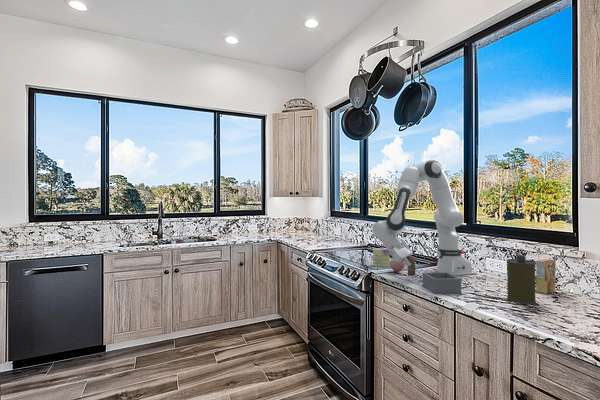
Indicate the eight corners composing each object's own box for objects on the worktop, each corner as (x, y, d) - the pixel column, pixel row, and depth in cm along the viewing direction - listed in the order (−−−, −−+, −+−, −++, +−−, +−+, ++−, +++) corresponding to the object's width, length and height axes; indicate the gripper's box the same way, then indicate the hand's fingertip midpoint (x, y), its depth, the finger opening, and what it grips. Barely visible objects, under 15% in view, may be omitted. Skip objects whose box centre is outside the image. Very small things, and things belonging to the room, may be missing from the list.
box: (388, 265, 211) (388, 248, 211) (389, 267, 205) (389, 249, 205) (372, 265, 212) (372, 248, 212) (374, 266, 206) (373, 249, 206)
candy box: (545, 289, 152) (545, 258, 152) (556, 291, 148) (555, 259, 148) (535, 291, 148) (535, 260, 148) (546, 294, 144) (545, 261, 144)
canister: (537, 305, 129) (537, 258, 129) (507, 301, 134) (507, 256, 134) (534, 298, 138) (534, 254, 138) (506, 295, 143) (506, 252, 143)
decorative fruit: (386, 272, 190) (386, 256, 190) (393, 270, 196) (393, 254, 196) (400, 274, 183) (400, 258, 183) (407, 272, 189) (407, 256, 189)
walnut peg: (413, 274, 171) (413, 256, 171) (416, 275, 167) (416, 257, 167) (406, 274, 170) (406, 256, 170) (409, 276, 166) (409, 257, 166)
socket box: (447, 285, 160) (447, 272, 160) (461, 293, 147) (461, 278, 147) (422, 286, 159) (422, 272, 159) (434, 293, 146) (434, 279, 146)
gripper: (391, 244, 164) (410, 264, 159) (404, 239, 181) (421, 257, 175) (383, 251, 167) (401, 271, 161) (397, 246, 183) (414, 264, 177)
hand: (412, 264), depth 168 cm, fingers closed on walnut peg, 4 cm apart
